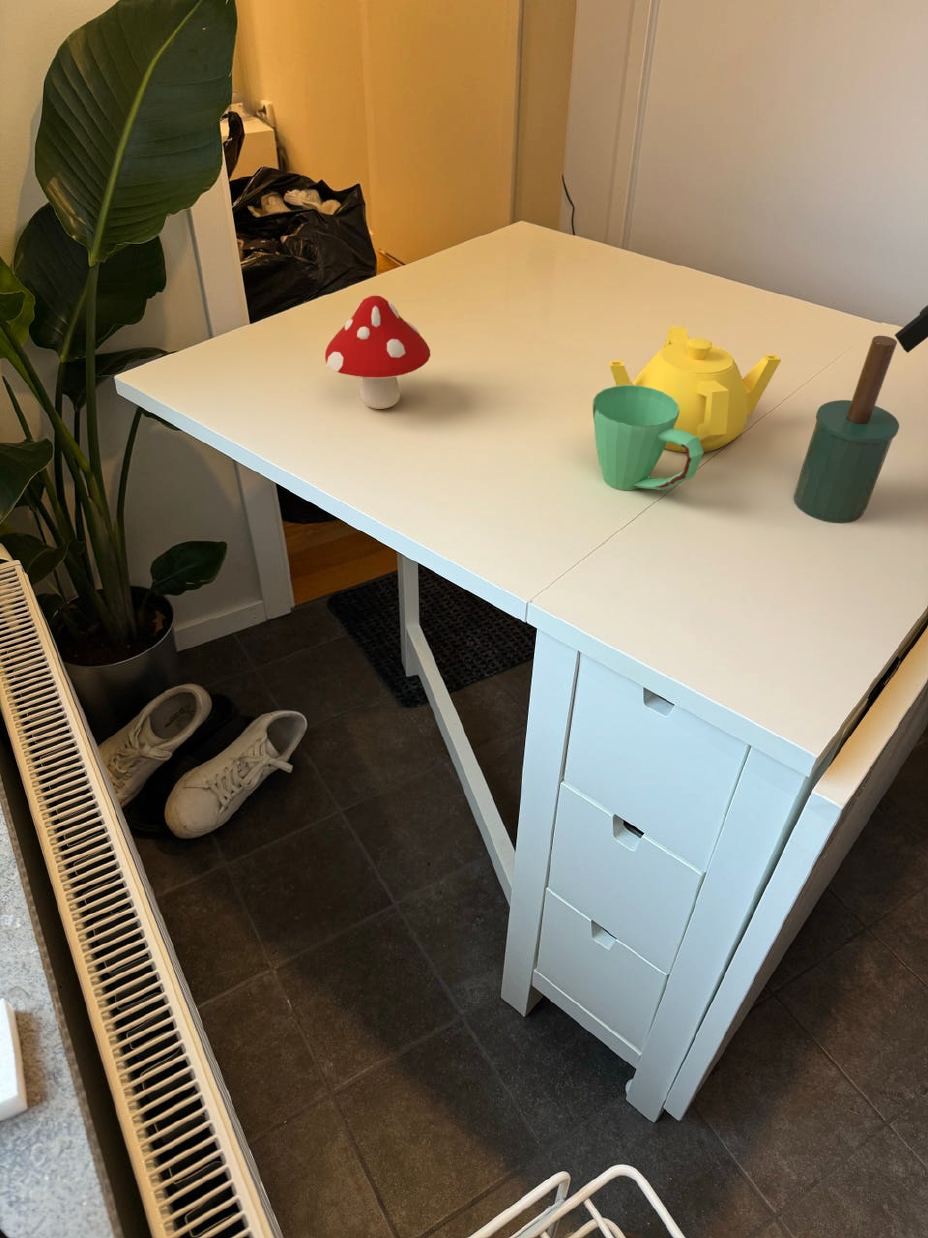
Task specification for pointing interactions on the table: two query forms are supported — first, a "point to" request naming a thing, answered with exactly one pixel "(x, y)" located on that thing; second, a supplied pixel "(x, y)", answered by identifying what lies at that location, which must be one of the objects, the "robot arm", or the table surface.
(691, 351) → the teapot
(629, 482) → the mug
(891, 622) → the table surface
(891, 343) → the ring toss peg stand
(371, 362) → the decorative mushroom
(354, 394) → the table surface
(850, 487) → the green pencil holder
